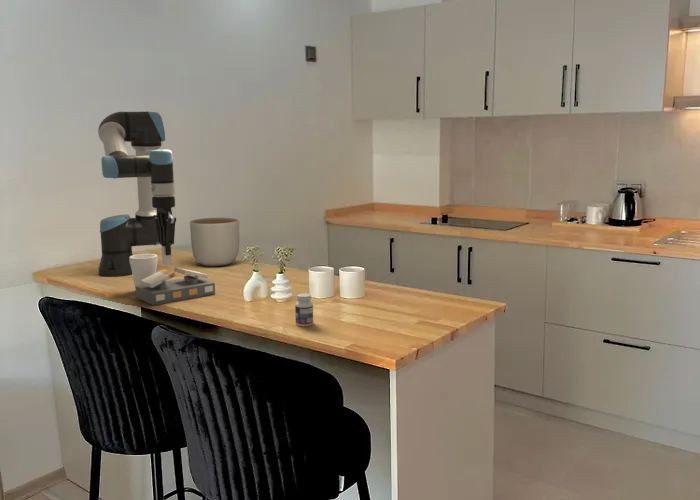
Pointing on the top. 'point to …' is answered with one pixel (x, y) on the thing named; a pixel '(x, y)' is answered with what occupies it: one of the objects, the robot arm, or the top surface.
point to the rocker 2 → (191, 273)
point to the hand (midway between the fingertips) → (167, 264)
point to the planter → (215, 240)
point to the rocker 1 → (158, 278)
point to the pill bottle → (304, 310)
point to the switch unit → (175, 290)
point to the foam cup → (143, 266)
